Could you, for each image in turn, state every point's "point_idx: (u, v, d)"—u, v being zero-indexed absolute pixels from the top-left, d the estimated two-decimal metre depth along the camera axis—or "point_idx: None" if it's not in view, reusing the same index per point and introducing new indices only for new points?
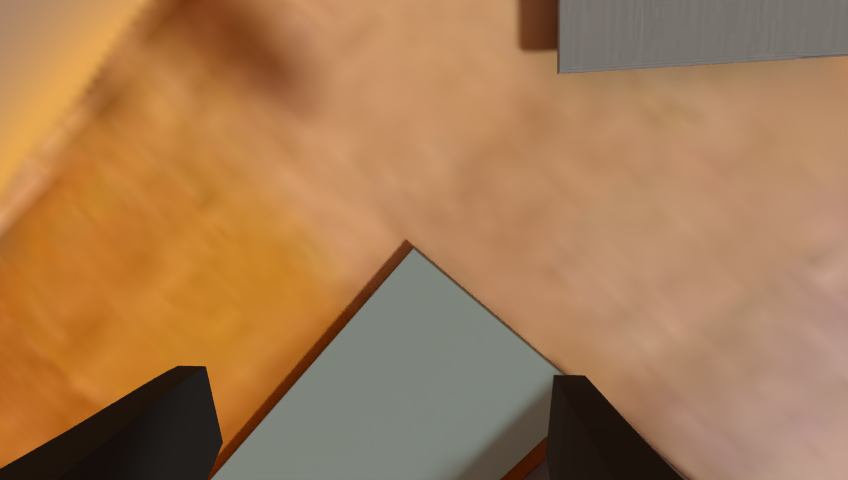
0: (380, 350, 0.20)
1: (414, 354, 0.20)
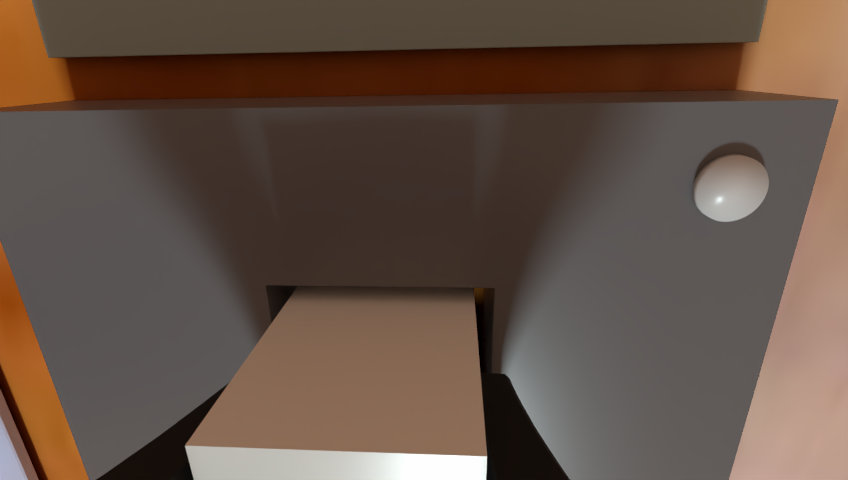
0: None
1: None
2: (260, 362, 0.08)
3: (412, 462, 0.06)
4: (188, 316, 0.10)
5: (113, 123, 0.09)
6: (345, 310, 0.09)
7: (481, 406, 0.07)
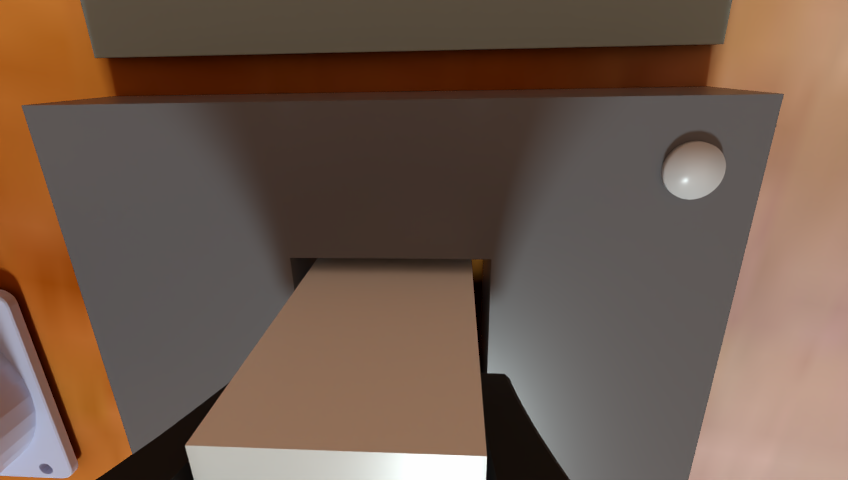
0: None
1: None
2: (261, 361, 0.08)
3: (412, 462, 0.06)
4: (221, 285, 0.12)
5: (161, 114, 0.10)
6: (345, 310, 0.09)
7: (481, 406, 0.07)
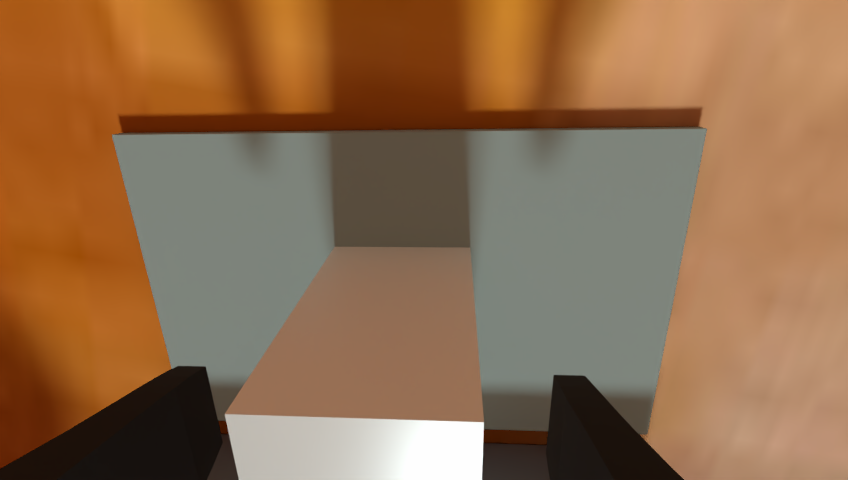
0: (526, 199, 0.13)
1: (554, 241, 0.13)
2: (284, 345, 0.09)
3: (420, 428, 0.07)
4: None
5: None
6: (357, 301, 0.10)
7: (479, 382, 0.08)
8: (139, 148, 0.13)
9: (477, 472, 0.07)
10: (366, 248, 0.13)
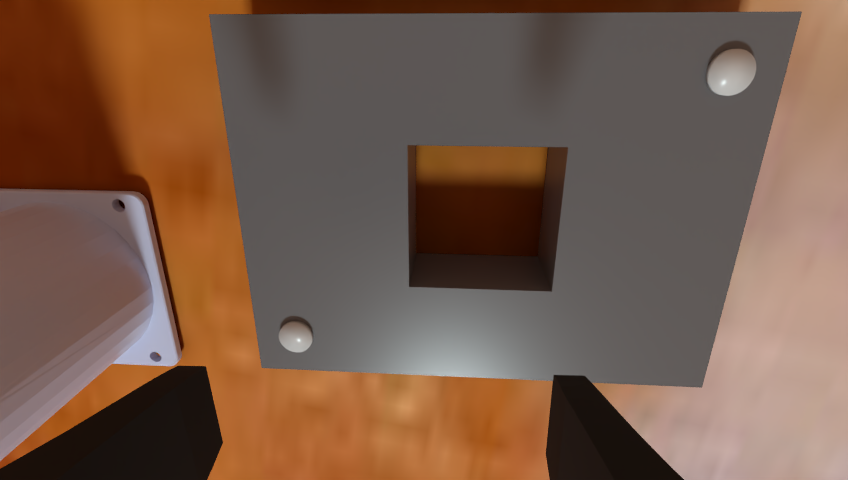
0: None
1: None
2: None
3: None
4: (349, 169, 0.14)
5: (319, 23, 0.13)
6: None
7: None
8: None
9: None
10: None
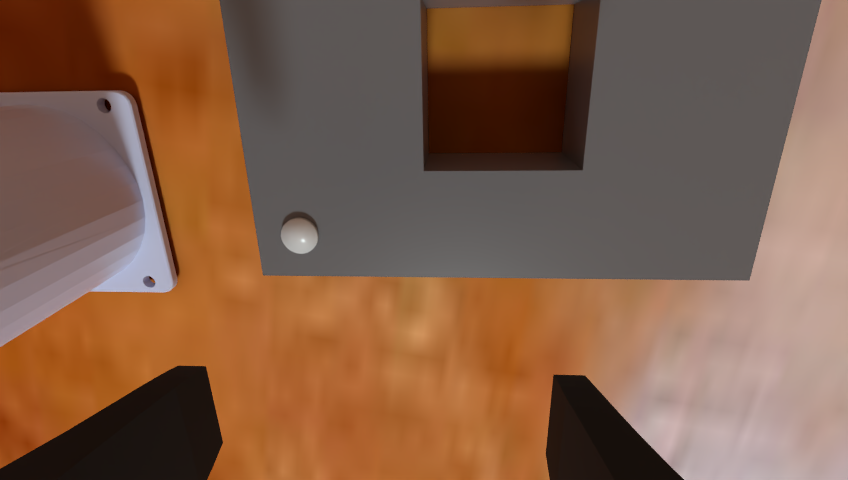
0: None
1: None
2: None
3: None
4: (355, 29, 0.13)
5: None
6: None
7: None
8: None
9: None
10: None
